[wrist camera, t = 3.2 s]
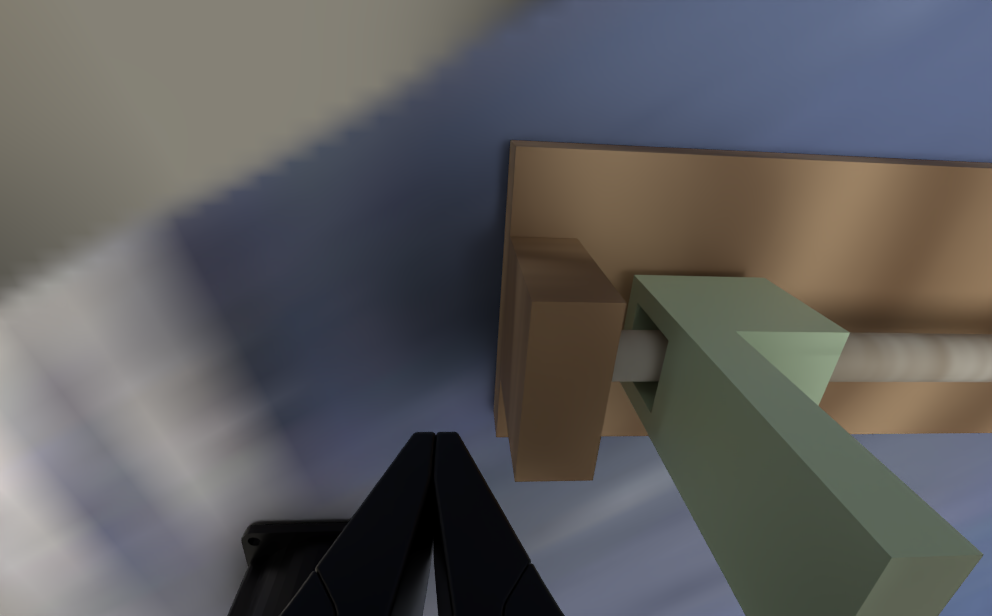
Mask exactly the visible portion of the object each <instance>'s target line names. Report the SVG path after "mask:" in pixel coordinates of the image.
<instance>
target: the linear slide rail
mask: <svg viewBox="0 0 992 616" xmlns="http://www.w3.org/2000/svg"><path fill="white" fill-rule="evenodd" d="M634 275H668V276H712V277H756V278H766V279H767V280H769V281H770V282H772V283H773V284H775V285H776V286H778V287H780V288H781V289H783V290H784V291H786V292H787V293H789V294H790V295H792V296H794V297H795V298H797V299H798V300H800V301H801V302H803V303H804V304H806V305H808V306H809V307H811V308H812V309H814V310H815V311H817V312H818V313H820V314H822V315H823V316H825V317H826V318H828V319H829V320H831V321H833V322H834V323H836V324H837V325H839V326H840V327H842V328H843V329H845V330H847V331H848V332H850V334H849V336H848V338H847V341H846V343H845V345H844V348H843V350H842V352H841V355H840V357H839V359H838V362H837V364H836V366H835V369H834V371H833V373H832V375H831V378H830V380H829V382H828V385H827V387H826V389H825V392H824V394H823V396H822V399H821V401H820V403H819V407H820V408H821V409H822V410H824V411H825V412H826V413H827V414H828V415H829V416H830V417H831V418H832V419H834V420H835V421H836V422H837V423H838V424H839V425H840V426H841V427H842V428H844V429H845V430H846V431H847V432H848V433H849V434H910V433H992V163H981V162H960V161H939V160H918V159H898V158H877V157H856V156H835V155H814V154H793V153H772V152H751V151H730V150H709V149H688V148H667V147H646V146H625V145H605V144H584V143H563V142H542V141H521V140H510V156H509V172H508V188H507V204H506V220H505V236H504V252H503V268H502V284H501V300H500V316H499V332H498V348H497V364H496V380H495V396H494V420H495V429H496V437H509V444H510V451H511V458H512V465H513V472H514V479H515V482H528V481H585V480H593V476H594V471H595V466H596V460H597V455H598V450H599V445H600V439H601V436H649V435H648V433H647V431H646V430H645V428H644V426H643V424H642V422H641V420H640V418H639V417H638V415H637V413H636V411H635V409H634V407H633V405H632V404H631V402H630V400H629V398H628V396H627V394H626V392H625V391H624V389H623V387H622V385H621V383H620V381H622V382H659V378H660V374H661V370H662V366H663V362H664V358H665V354H666V350H667V346H668V341H669V340H668V339H667V338H666V337H665V336H664V334H663V333H662V332H661V331H660V330H624V324H625V319H626V314H627V309H628V304H629V299H630V293H631V288H632V283H633V278H634Z"/></svg>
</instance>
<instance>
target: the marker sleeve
mask: <svg viewBox="0 0 992 616" xmlns="http://www.w3.org/2000/svg"><path fill="white" fill-rule="evenodd" d="M624 330H660V331H661V332H662V333H663V334H664V336H665V337H666V338H667V339H668V340H669V341H668V346H667V350H666V354H665V358H664V362H663V366H662V370H661V374H660V378H659V382H622V381H620V383H621V385H622V387H623V389H624V391H625V392H626V394H627V396H628V398H629V400H630V402H631V404H632V405H633V407H634V409H635V411H636V413H637V415H638V417H639V418H640V420H641V422H642V424H643V426H644V428H645V430H646V431H647V433H648V435H649V437H650V439H651V441H652V443H653V444H654V446H655V448H656V450H657V452H658V454H659V456H660V457H661V459H662V461H663V463H664V465H665V467H666V469H667V470H668V472H669V474H670V476H671V478H672V480H673V482H674V483H675V485H676V487H677V489H678V491H679V493H680V495H681V496H682V498H683V500H684V502H685V504H686V506H687V508H688V509H689V511H690V513H691V515H692V517H693V519H694V521H695V522H696V524H697V526H698V528H699V530H700V532H701V534H702V535H703V537H704V539H705V541H706V543H707V545H708V547H709V548H710V550H711V552H712V554H713V556H714V558H715V560H716V561H717V563H718V565H719V567H720V569H721V571H722V573H723V574H724V576H725V578H726V580H727V582H728V584H729V586H730V587H731V589H732V591H733V593H734V595H735V597H736V599H737V600H738V602H739V604H740V606H741V608H742V610H743V612H744V613H745V615H746V616H938V615H939V614H940V612H941V611H942V610H943V608H944V607H945V606H946V604H947V603H948V602H949V600H950V599H951V598H952V596H953V595H954V594H955V592H956V591H957V590H958V588H959V587H960V586H961V584H962V583H963V582H964V580H965V579H966V578H967V576H968V575H969V574H970V572H971V571H972V570H973V568H974V567H975V566H976V564H977V563H978V562H979V560H980V559H981V558H982V556H983V554H982V553H981V552H980V551H979V550H978V549H977V548H976V547H975V546H973V545H972V544H971V543H970V542H969V541H968V540H967V539H966V538H965V537H963V536H962V535H961V534H960V533H959V532H958V531H957V530H956V529H955V528H953V527H952V526H951V525H950V524H949V523H948V522H947V521H946V520H945V519H943V518H942V517H941V516H940V515H939V514H938V513H937V512H936V511H935V510H933V509H932V508H931V507H930V506H929V505H928V504H927V503H926V502H925V501H923V500H922V499H921V498H920V497H919V496H918V495H917V494H916V493H915V492H913V491H912V490H911V489H910V488H909V487H908V486H907V485H906V484H905V483H903V482H902V481H901V480H900V479H899V478H898V477H897V476H896V475H895V474H894V473H892V472H891V471H890V470H889V469H888V468H887V467H886V466H885V465H884V464H882V463H881V462H880V461H879V460H878V459H877V458H876V457H875V456H874V455H872V454H871V453H870V452H869V451H868V450H867V449H866V448H865V447H864V446H862V445H861V444H860V443H859V442H858V441H857V440H856V439H855V438H854V437H852V436H851V435H850V434H849V433H848V432H847V431H846V430H845V429H844V428H842V427H841V426H840V425H839V424H838V423H837V422H836V421H835V420H834V419H832V418H831V417H830V416H829V415H828V414H827V413H826V412H825V411H824V410H822V409H821V408H820V407H819V403H820V401H821V399H822V396H823V394H824V392H825V389H826V387H827V385H828V382H829V380H830V378H831V375H832V373H833V371H834V369H835V366H836V364H837V362H838V359H839V357H840V355H841V352H842V350H843V348H844V345H845V343H846V341H847V338H848V336H849V334H850V332H848V331H847V330H845V329H843V328H842V327H840V326H839V325H837V324H836V323H834V322H833V321H831V320H829V319H828V318H826V317H825V316H823V315H822V314H820V313H818V312H817V311H815V310H814V309H812V308H811V307H809V306H808V305H806V304H804V303H803V302H801V301H800V300H798V299H797V298H795V297H794V296H792V295H790V294H789V293H787V292H786V291H784V290H783V289H781V288H780V287H778V286H776V285H775V284H773V283H772V282H770V281H769V280H767V279H766V278H756V277H712V276H668V275H634V278H633V283H632V288H631V293H630V299H629V304H628V309H627V314H626V319H625V324H624Z"/></svg>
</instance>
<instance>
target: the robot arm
mask: <svg viewBox="0 0 992 616" xmlns="http://www.w3.org/2000/svg"><path fill="white" fill-rule="evenodd" d="M242 545H243V549H244V553H245V557H246V560H247V564H248V569H247V571H246V573H245V576H244V578H243V580H242V583H241V585H240V587H239V590H238V592H237V594H236V597H235V599H234V601H233V604H232V606H231V608H230V610H229V613H228V615H227V616H423V610H424V603H425V597H426V591H427V585H428V578H429V572H430V566H431V558H432V550H433V551H434V568H435V581H436V593H437V605H438V616H565V615H564V614H563V613H562V611H561V610H560V608H559V606H558V605H557V603H556V602H555V600H554V598H553V597H552V595H551V593H550V592H549V590H548V589H547V587H546V585H545V584H544V582H543V580H542V579H541V577H540V575H539V573H538V572H537V570H536V568H535V566H534V565H533V564H531V560H530V558H529V556H528V554H527V553H526V551H525V549H524V547H523V546H522V544H521V542H520V541H519V539H518V537H517V535H516V534H515V532H514V530H513V528H512V527H511V525H510V523H509V521H508V520H507V518H506V516H505V514H504V513H503V511H502V509H501V507H500V506H499V504H498V502H497V500H496V499H495V497H494V495H493V493H492V492H491V490H490V488H489V486H488V485H487V483H486V481H485V479H484V478H483V476H482V474H481V472H480V471H479V469H478V467H477V465H476V464H475V462H474V460H473V458H472V457H471V455H470V453H469V451H468V450H467V448H466V446H465V444H464V443H463V441H462V439H461V437H460V436H459V434H458V433H457V432H438V433H437V434H436V435H435V433H434V432H415V433H414V434H413V435H412V436H411V438H410V439H409V440H408V442H407V443H406V444H405V446H404V447H403V449H402V450H401V451H400V453H399V454H398V455H397V457H396V458H395V459H394V461H393V462H392V464H391V465H390V466H389V468H388V469H387V470H386V472H385V473H384V475H383V476H382V477H381V479H380V480H379V481H378V483H377V484H376V485H375V487H374V488H373V490H372V491H371V492H370V494H369V495H368V496H367V498H366V499H365V501H364V502H363V503H362V505H361V506H360V507H359V509H358V510H357V511H356V513H355V514H354V516H353V517H352V518H351V520H350V521H349V522H348V523H320V524H279V525H253V526H250V527H248V528H247V529H246V531H245V533H244V535H243V537H242Z"/></svg>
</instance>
